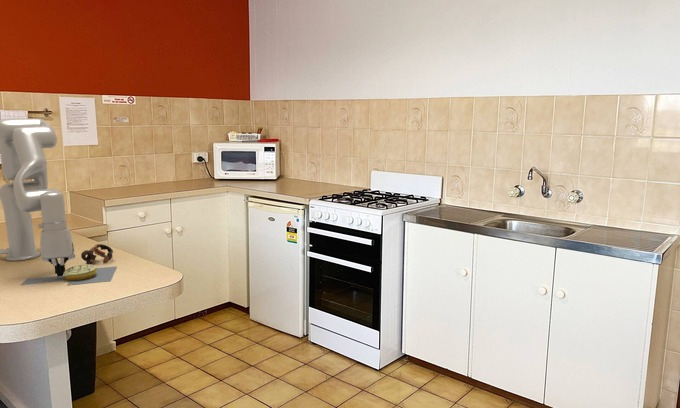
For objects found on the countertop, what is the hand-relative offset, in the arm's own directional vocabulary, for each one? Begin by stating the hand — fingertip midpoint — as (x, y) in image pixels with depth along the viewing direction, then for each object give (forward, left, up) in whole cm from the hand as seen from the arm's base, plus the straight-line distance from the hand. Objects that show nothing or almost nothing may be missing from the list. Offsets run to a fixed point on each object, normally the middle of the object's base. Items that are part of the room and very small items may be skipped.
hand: (60, 275), depth 192 cm
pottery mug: (+9, +18, -2) cm, 21 cm away
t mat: (+3, 0, -1) cm, 3 cm away
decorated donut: (+7, -1, -1) cm, 7 cm away
